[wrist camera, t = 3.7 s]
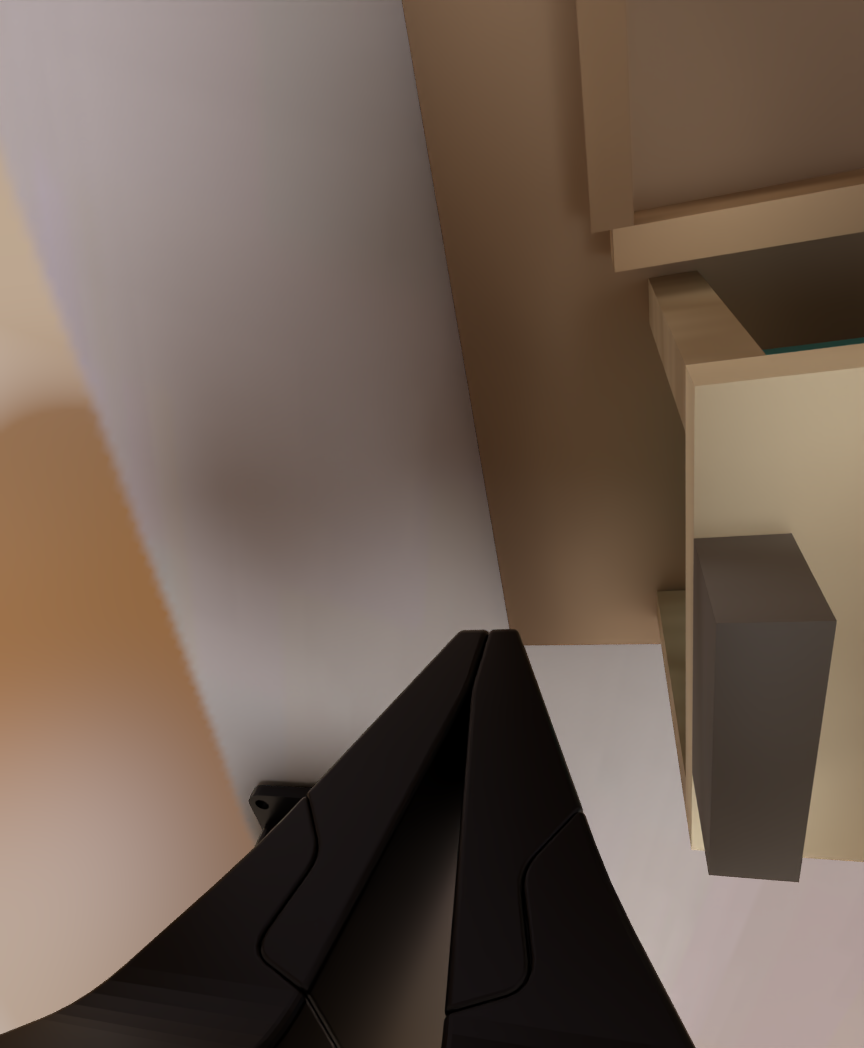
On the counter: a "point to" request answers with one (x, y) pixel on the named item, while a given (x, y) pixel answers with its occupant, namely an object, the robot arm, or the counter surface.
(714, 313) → the bridge
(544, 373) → the board
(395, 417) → the counter surface
